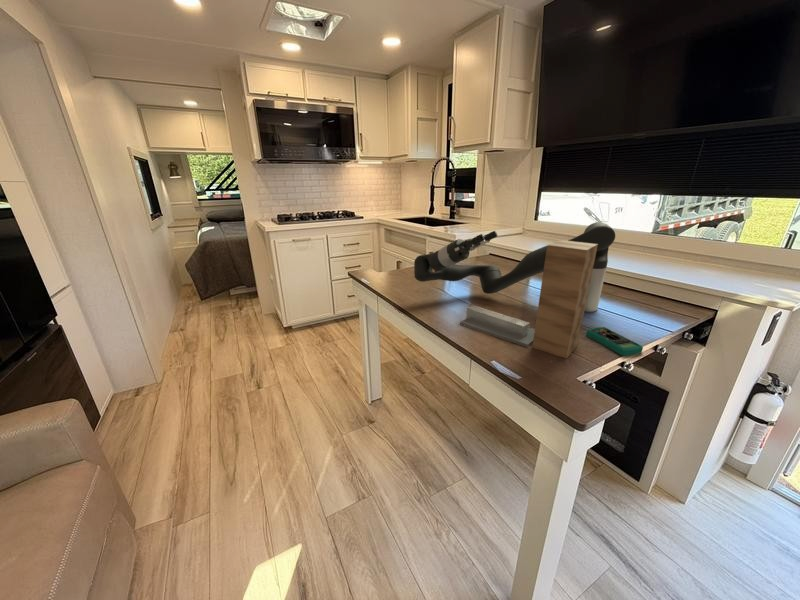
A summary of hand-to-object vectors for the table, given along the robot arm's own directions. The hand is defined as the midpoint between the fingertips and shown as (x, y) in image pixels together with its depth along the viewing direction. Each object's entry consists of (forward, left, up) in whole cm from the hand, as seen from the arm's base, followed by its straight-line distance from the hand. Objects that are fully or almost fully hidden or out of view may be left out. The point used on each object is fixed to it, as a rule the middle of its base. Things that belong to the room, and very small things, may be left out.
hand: (489, 235), depth 106 cm
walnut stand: (0, +25, -32) cm, 41 cm away
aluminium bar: (0, +5, -31) cm, 31 cm away
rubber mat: (0, +7, -32) cm, 33 cm away
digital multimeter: (-14, +38, -33) cm, 52 cm away
